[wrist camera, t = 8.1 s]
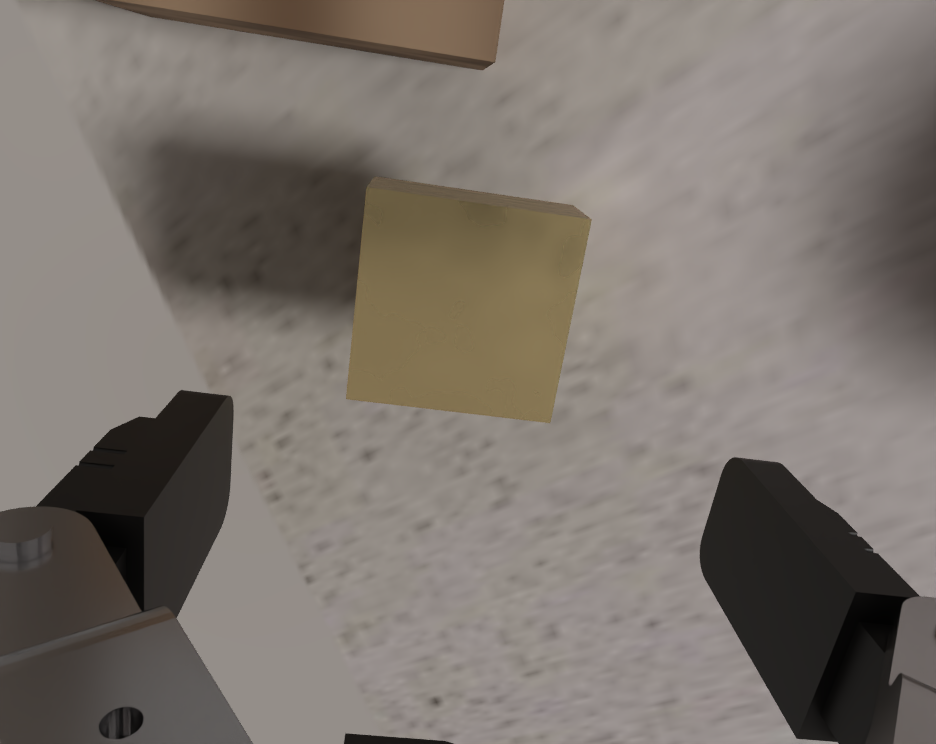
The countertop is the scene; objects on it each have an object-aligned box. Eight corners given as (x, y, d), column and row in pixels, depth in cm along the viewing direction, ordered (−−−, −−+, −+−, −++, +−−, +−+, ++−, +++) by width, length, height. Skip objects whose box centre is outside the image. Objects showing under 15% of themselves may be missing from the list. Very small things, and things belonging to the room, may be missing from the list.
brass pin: (548, 186, 29) (591, 219, 21) (520, 339, 31) (550, 423, 23) (385, 162, 28) (366, 186, 20) (369, 320, 30) (346, 399, 22)
